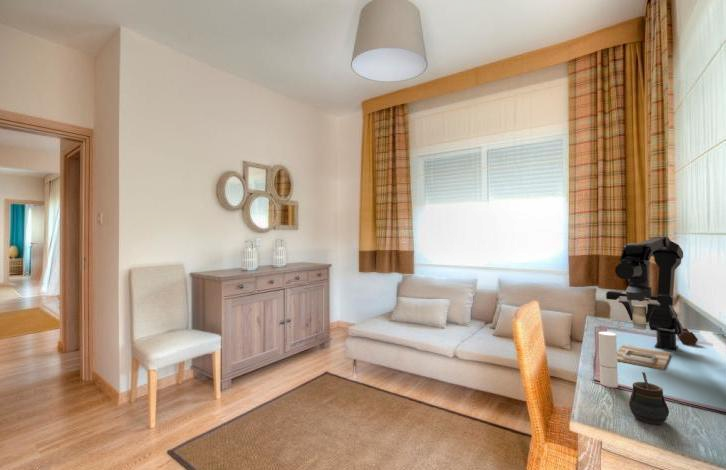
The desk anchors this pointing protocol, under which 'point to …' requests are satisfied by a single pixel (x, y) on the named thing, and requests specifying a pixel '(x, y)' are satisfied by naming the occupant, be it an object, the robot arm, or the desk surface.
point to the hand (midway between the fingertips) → (639, 321)
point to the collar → (625, 355)
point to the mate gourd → (648, 402)
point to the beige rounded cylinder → (639, 317)
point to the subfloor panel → (658, 363)
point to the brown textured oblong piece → (687, 337)
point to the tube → (608, 359)
